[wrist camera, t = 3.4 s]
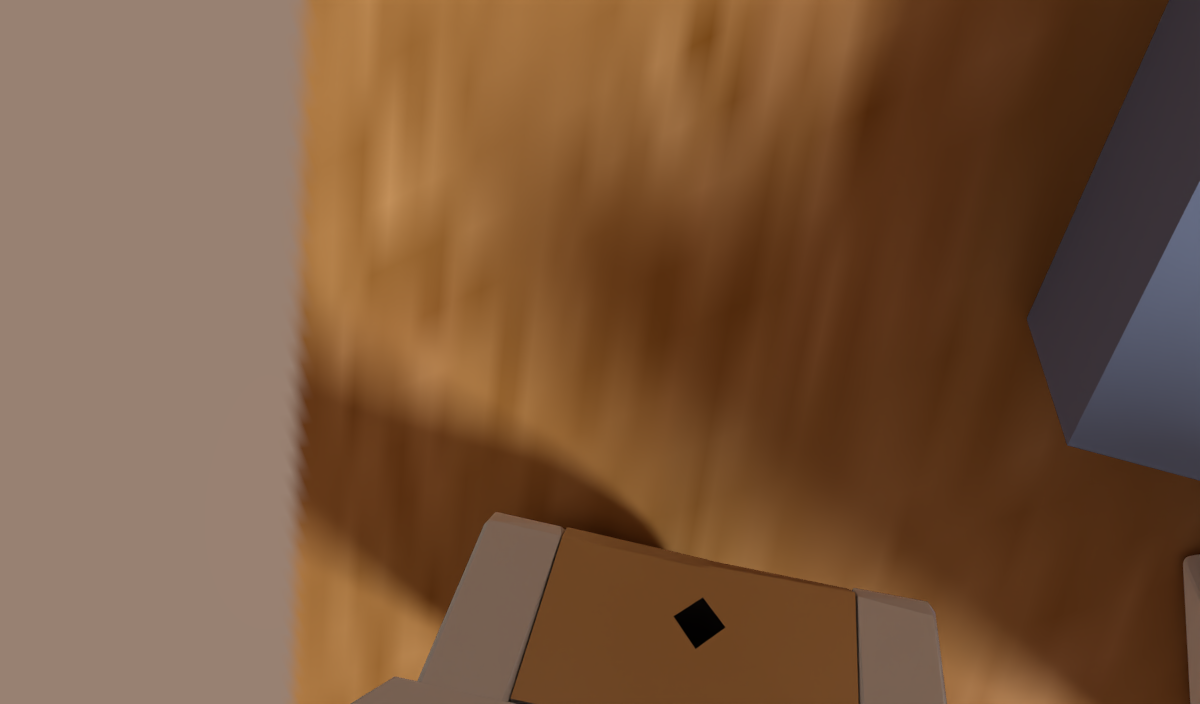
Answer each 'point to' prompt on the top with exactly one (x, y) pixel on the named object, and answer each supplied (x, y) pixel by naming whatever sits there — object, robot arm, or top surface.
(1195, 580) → the milk carton
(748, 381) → the top surface
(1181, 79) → the navy carton
